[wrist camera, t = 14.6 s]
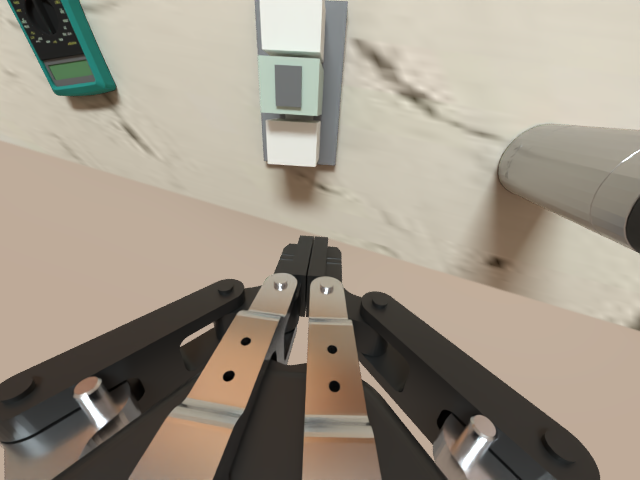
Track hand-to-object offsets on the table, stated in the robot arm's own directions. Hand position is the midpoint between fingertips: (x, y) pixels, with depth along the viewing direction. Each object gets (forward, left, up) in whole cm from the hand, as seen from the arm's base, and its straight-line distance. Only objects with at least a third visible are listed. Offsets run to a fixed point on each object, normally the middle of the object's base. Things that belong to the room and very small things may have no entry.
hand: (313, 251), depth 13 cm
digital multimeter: (+33, -14, -26) cm, 44 cm away
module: (+4, -8, -23) cm, 25 cm away
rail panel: (+4, -8, -25) cm, 27 cm away
